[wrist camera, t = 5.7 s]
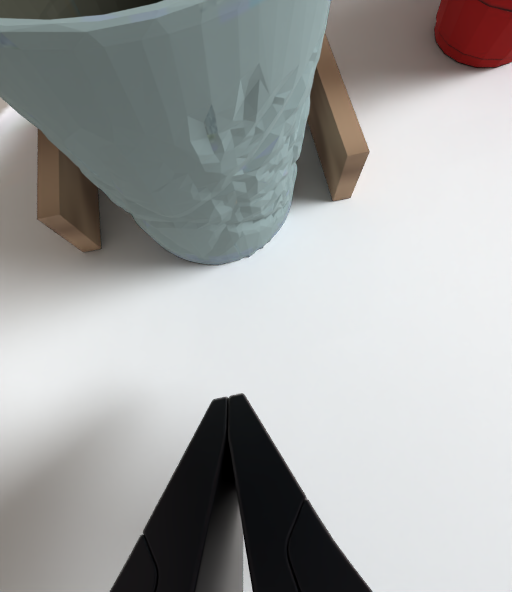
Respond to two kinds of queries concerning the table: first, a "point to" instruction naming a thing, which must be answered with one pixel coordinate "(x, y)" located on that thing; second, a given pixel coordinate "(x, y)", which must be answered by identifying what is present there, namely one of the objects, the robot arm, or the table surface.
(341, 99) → the walnut bay
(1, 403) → the table surface
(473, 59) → the plastic cup
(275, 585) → the robot arm
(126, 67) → the green plant pot
